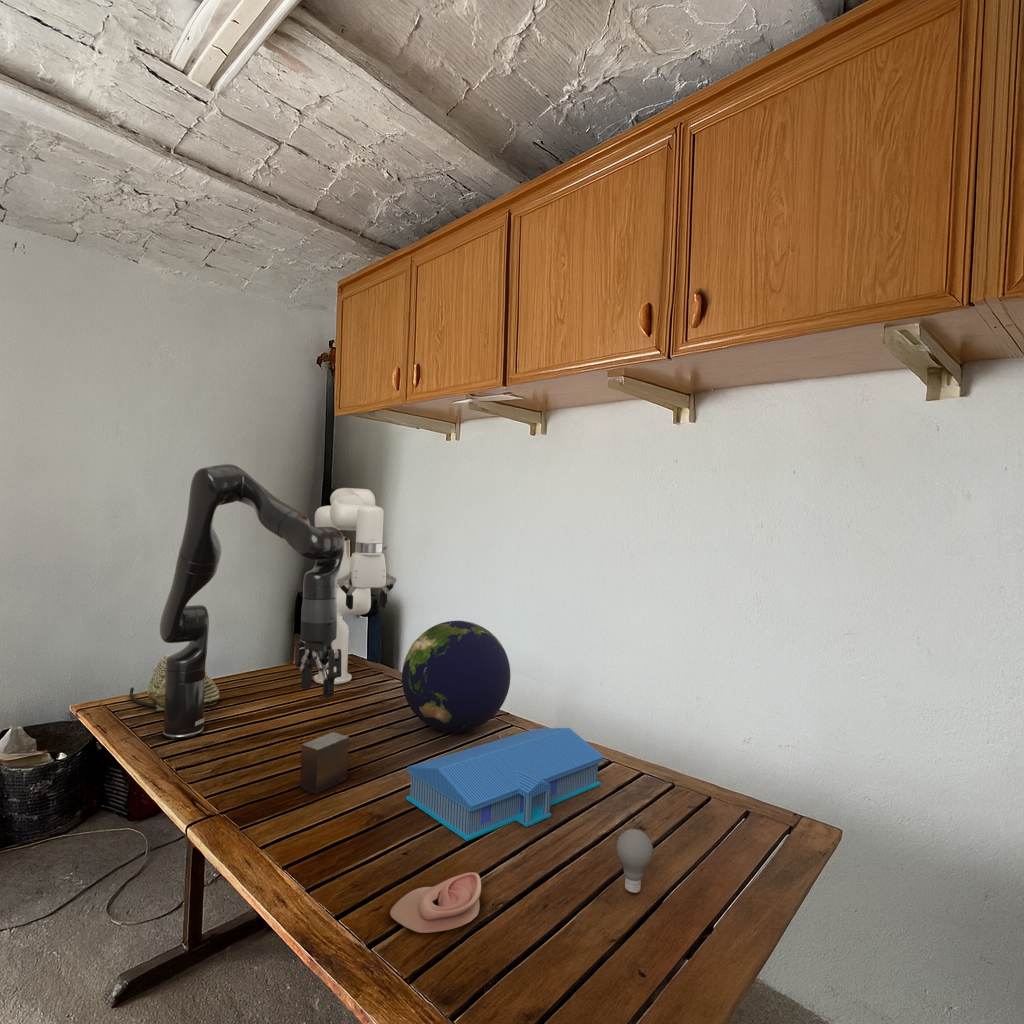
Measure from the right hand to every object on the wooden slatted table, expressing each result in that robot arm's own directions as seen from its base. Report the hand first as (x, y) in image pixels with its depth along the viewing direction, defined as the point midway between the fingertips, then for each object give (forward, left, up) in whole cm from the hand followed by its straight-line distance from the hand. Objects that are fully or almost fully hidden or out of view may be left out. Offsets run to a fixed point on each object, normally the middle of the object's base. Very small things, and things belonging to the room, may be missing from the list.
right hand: (366, 607), depth 183 cm
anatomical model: (+91, +3, -32) cm, 96 cm away
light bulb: (+95, +35, -32) cm, 106 cm away
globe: (+17, +24, -32) cm, 43 cm away
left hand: (+43, -14, -11) cm, 47 cm away
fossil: (-18, -49, -32) cm, 61 cm away
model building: (+57, +27, -32) cm, 70 cm away
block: (+42, -12, -32) cm, 54 cm away
